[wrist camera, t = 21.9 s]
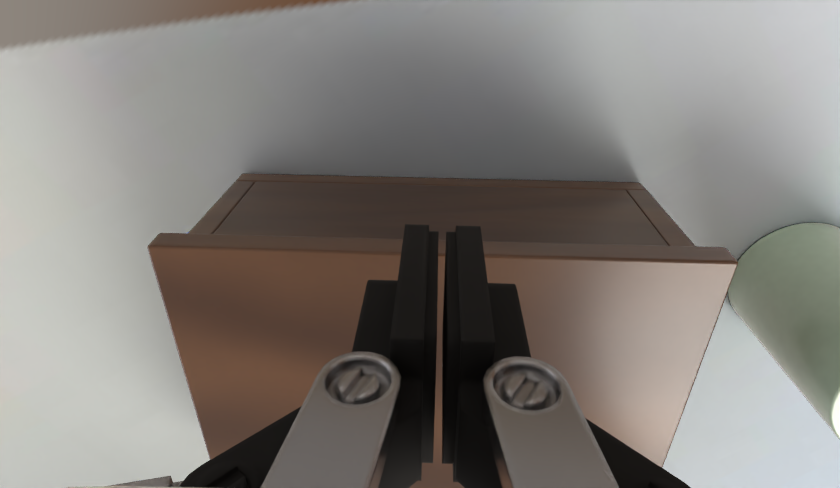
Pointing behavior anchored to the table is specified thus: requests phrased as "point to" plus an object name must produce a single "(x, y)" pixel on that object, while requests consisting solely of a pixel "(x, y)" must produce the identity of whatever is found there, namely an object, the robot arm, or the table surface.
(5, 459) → the table surface
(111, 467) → the table surface
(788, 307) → the jar
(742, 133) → the table surface
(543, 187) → the wooden box
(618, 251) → the lid
